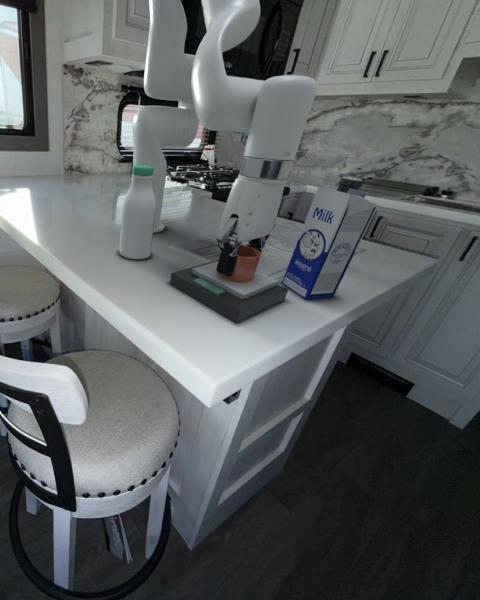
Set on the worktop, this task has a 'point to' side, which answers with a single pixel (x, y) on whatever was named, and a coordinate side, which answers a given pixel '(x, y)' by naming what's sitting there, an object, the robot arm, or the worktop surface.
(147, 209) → the milk bottle
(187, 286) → the kitchen scale
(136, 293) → the worktop surface
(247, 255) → the flower pot
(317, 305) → the worktop surface
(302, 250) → the milk carton
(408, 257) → the worktop surface
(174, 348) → the worktop surface
